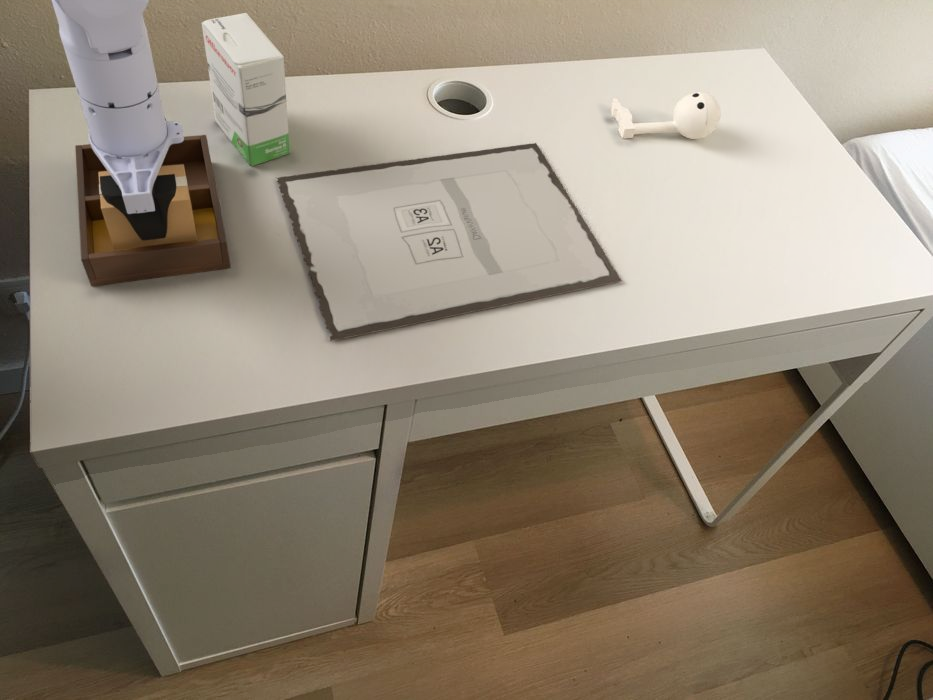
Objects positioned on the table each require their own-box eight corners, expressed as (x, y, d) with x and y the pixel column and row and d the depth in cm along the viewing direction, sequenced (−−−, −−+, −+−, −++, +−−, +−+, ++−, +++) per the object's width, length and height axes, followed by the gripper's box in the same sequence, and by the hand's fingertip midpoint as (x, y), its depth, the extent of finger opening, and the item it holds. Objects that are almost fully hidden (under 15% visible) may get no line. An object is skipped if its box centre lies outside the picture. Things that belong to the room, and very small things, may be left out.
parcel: (114, 250, 67) (100, 208, 63) (111, 214, 70) (97, 171, 66) (197, 240, 69) (189, 198, 65) (191, 205, 72) (183, 163, 68)
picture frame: (330, 342, 67) (621, 281, 77) (330, 340, 67) (622, 279, 77) (275, 178, 79) (535, 143, 88) (275, 176, 78) (536, 141, 88)
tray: (91, 286, 68) (80, 259, 65) (84, 173, 75) (74, 145, 73) (230, 268, 71) (226, 241, 68) (210, 162, 79) (206, 134, 76)
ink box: (292, 154, 81) (287, 55, 72) (249, 168, 79) (238, 68, 70) (255, 108, 85) (246, 8, 76) (213, 120, 83) (198, 19, 73)
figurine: (734, 108, 88) (638, 115, 86) (718, 146, 93) (626, 154, 91) (708, 67, 93) (615, 73, 91) (694, 105, 97) (605, 111, 95)
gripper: (183, 142, 55) (207, 269, 66) (164, 28, 62) (188, 158, 73) (76, 151, 53) (119, 281, 64) (70, 31, 60) (109, 165, 71)
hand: (151, 216), depth 68 cm, fingers closed on parcel, 4 cm apart
